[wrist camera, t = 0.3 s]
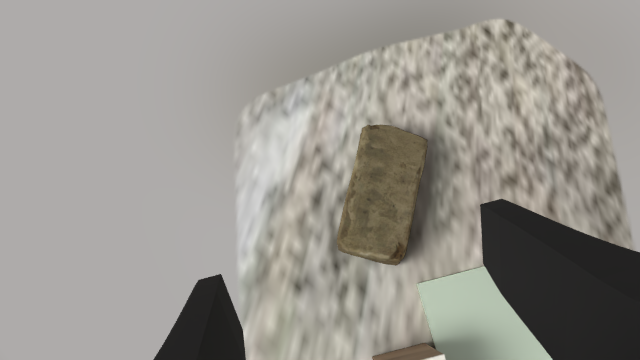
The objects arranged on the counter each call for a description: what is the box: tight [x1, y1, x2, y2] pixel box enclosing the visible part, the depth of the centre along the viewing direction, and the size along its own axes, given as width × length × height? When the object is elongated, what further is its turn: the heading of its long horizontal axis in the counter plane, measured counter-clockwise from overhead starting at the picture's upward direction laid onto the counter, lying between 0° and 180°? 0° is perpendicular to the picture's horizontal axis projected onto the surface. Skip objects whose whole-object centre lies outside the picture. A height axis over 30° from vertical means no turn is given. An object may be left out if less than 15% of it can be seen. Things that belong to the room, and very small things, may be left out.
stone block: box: [337, 125, 427, 265], centre depth 40 cm, size 6×12×5 cm, turn 167°
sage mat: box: [416, 266, 553, 360], centre depth 38 cm, size 14×11×1 cm
